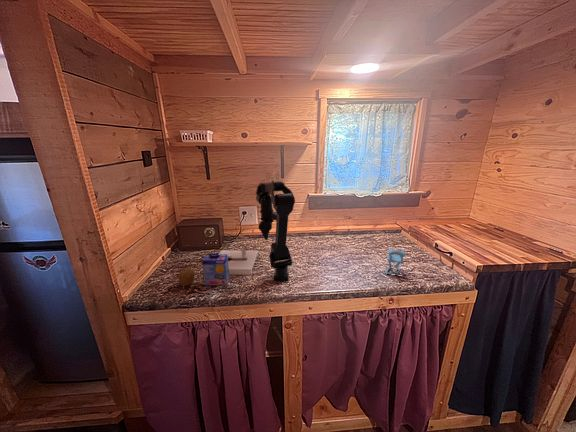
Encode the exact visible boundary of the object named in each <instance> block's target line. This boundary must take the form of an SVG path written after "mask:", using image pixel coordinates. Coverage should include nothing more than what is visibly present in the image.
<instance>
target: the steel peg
mask: <svg viewBox="0 0 576 432" xmlns="http://www.w3.org/2000/svg"><path fill="white" fill-rule="evenodd" d="M241 251H242V259H241V260H243V261H246V251H247V248H246V246H242V247H241Z"/></svg>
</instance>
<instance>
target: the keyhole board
mask: <svg viewBox="0 0 576 432" xmlns="http://www.w3.org/2000/svg"><path fill="white" fill-rule="evenodd" d="M218 254H219V255H220V254H227V255H228V259H231V260H228V266H229V275H244V276H246V275H247V276H248V275H253V268H254V264H255V261H256V259H257V257H259V251H258V250H246V261H243V260H242V250H234V249H233V250H225V249H223V250H222V249H221V251H220V252H219V253H218Z"/></svg>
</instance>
